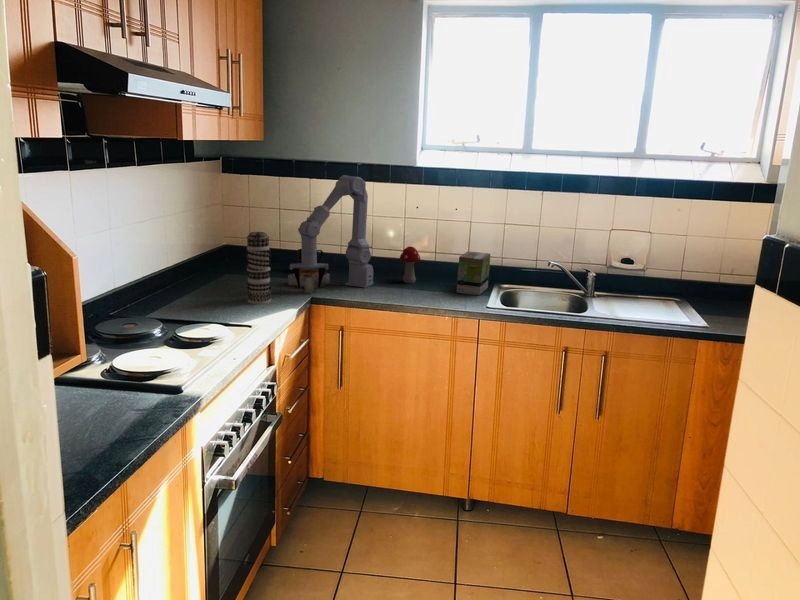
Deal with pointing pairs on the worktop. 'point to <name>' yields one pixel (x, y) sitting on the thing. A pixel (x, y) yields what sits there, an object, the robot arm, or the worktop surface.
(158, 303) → the worktop surface
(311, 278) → the canister
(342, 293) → the worktop surface
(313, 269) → the mug
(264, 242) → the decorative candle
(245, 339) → the worktop surface
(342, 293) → the worktop surface
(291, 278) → the housing
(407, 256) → the decorative mushroom
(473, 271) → the tea box
